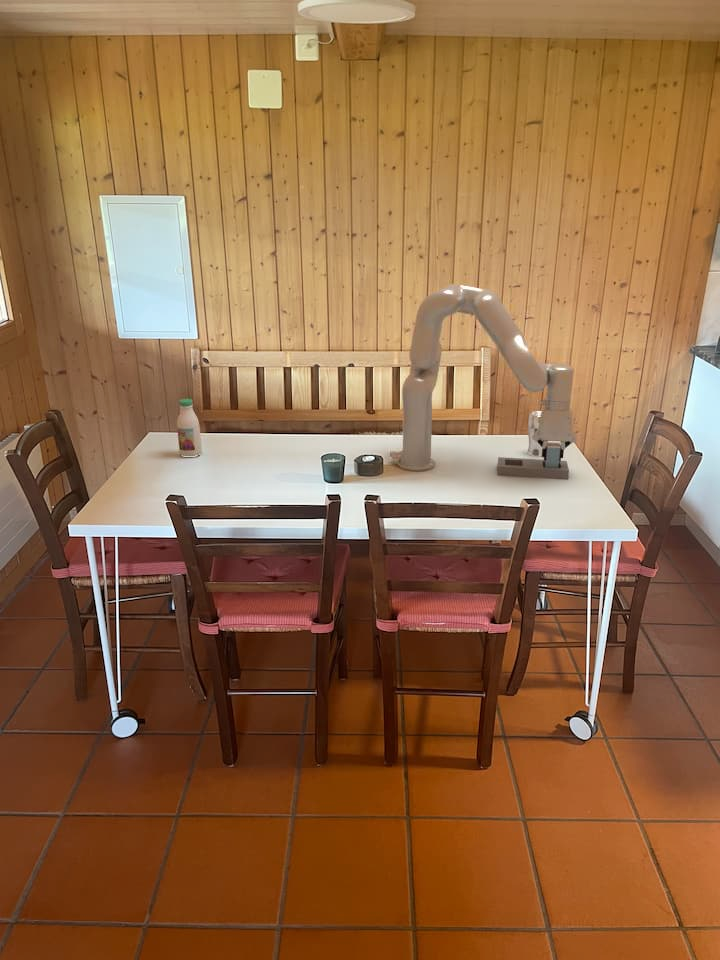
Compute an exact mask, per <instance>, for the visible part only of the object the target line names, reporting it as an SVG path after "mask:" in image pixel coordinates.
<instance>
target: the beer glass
mask: <svg viewBox="0 0 720 960" xmlns="http://www.w3.org/2000/svg"><path fill="white" fill-rule="evenodd" d="M541 412H542V410H534V411H530V412H529V414H528V415H529V416H528V420H527V421H528V422H527V434H528V435H527V436H528V449H527V452H526V454H527V455H528V456H531V457H536V458H537V457H542V447H541V446H540V444H539V443H538V442H536V441H535V440H533V439H532V436H533V434H534V433H535V432H536V431H537V430H538V428H539V422H540V417H541ZM538 438H539V436H538ZM542 441H543V440H542Z"/></svg>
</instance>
